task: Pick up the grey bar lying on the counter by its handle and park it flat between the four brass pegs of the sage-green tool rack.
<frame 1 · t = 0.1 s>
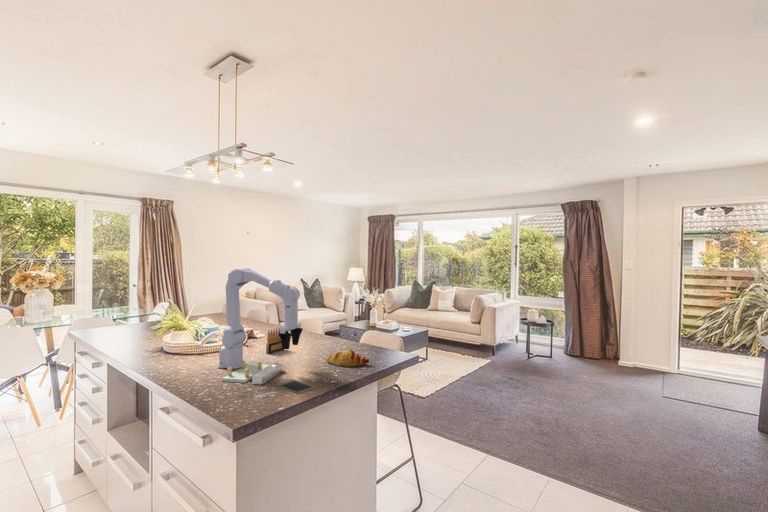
hand: (290, 346, 157), 10 cm above the countertop, tool pointing down, fingers open, 7 cm apart
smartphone: (295, 387, 137), on the countertop
ammunition clip: (275, 352, 188), on the countertop
rack: (247, 374, 152), on the countertop
croissant: (347, 364, 166), on the countertop
grey bar: (266, 378, 146), on the countertop
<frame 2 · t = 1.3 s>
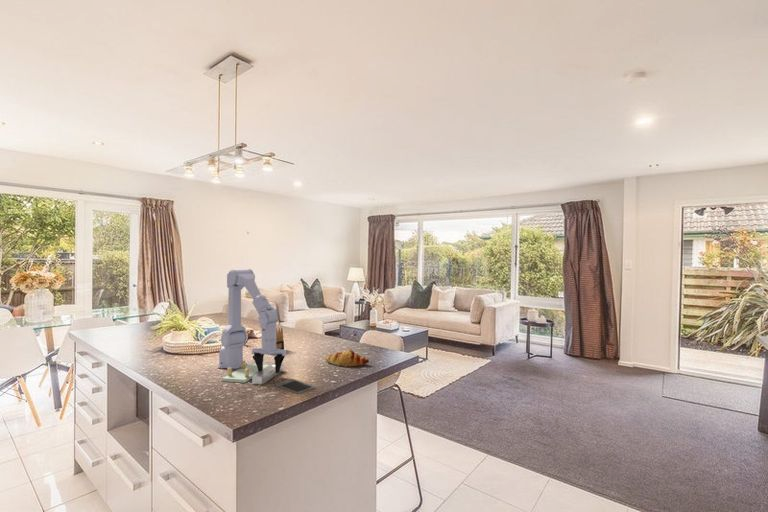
hand: (269, 372, 149), 2 cm above the countertop, tool pointing down, fingers open, 7 cm apart
nothing on the countertop moved.
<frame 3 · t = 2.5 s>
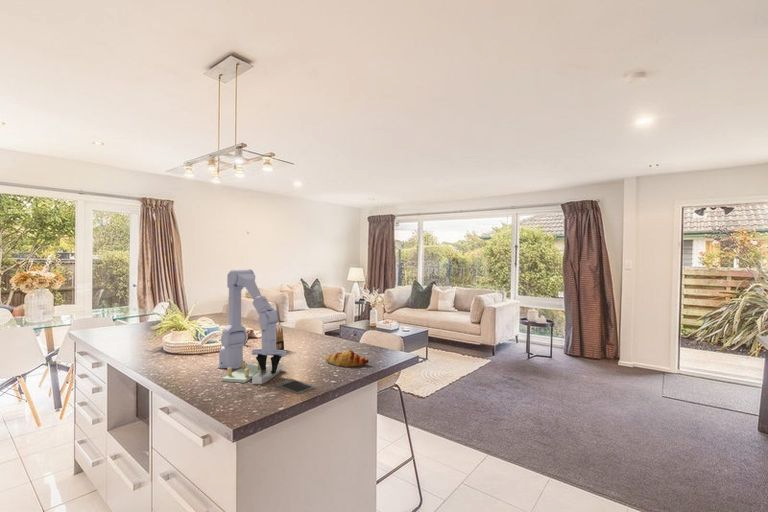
hand: (268, 372, 149), 1 cm above the countertop, tool pointing down, fingers closed on grey bar, 4 cm apart
grey bar: (266, 378, 146), on the countertop, touching gripper
everything else where it was.
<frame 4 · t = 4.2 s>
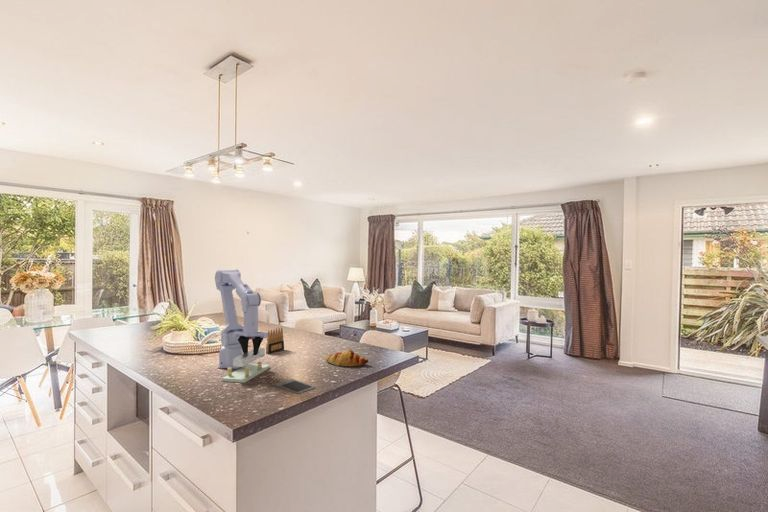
hand: (250, 354, 151), 8 cm above the countertop, tool pointing down, fingers closed on grey bar, 4 cm apart
grey bar: (247, 361, 149), point 6 cm above the countertop, touching gripper
everything else where it was.
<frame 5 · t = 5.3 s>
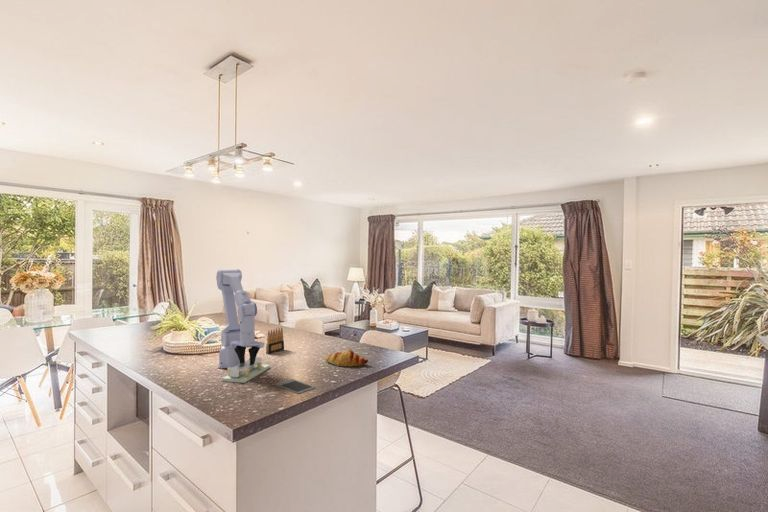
hand: (247, 364, 152), 4 cm above the countertop, tool pointing down, fingers closed on grey bar, 4 cm apart
grey bar: (244, 371, 150), point 2 cm above the countertop, touching gripper
everything else where it was.
when the fingers open (4 cm above the countertop, at t = 6.3 s): grey bar stays where it is, resting on rack.
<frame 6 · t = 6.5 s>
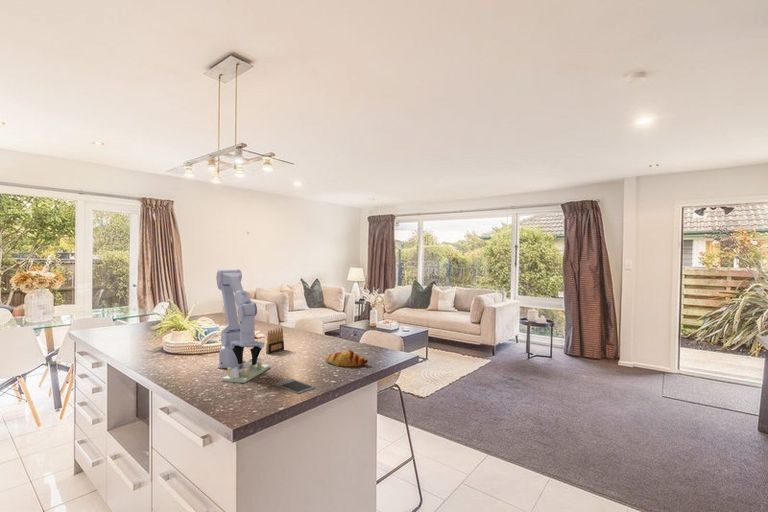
hand: (247, 364, 152), 4 cm above the countertop, tool pointing down, fingers open, 6 cm apart
grey bar: (244, 372, 150), point 1 cm above the countertop, touching rack
everything else where it was.
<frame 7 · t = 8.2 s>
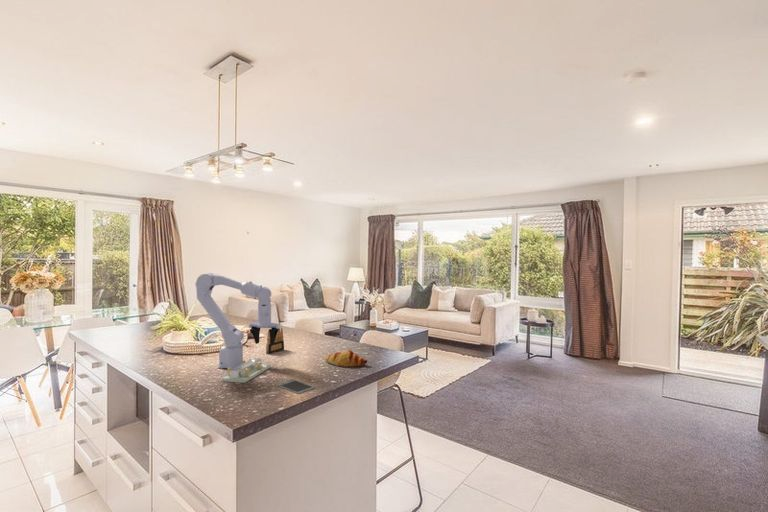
hand: (264, 343, 166), 9 cm above the countertop, tool pointing down, fingers open, 7 cm apart
nothing on the countertop moved.
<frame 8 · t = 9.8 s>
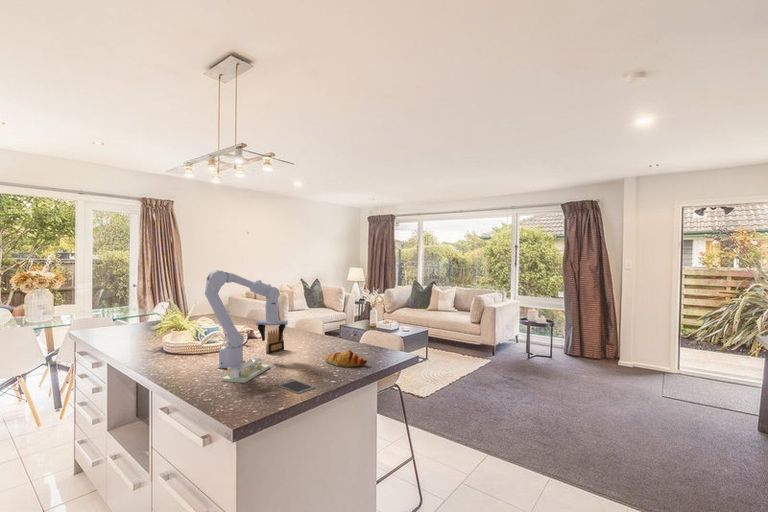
hand: (271, 340, 173), 9 cm above the countertop, tool pointing down, fingers open, 7 cm apart
nothing on the countertop moved.
at the end: grey bar 0.0 cm from the target spot on the rack, point 1.2 cm above the rack's base; grey bar tilted 0°; the gripper is holding nothing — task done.
